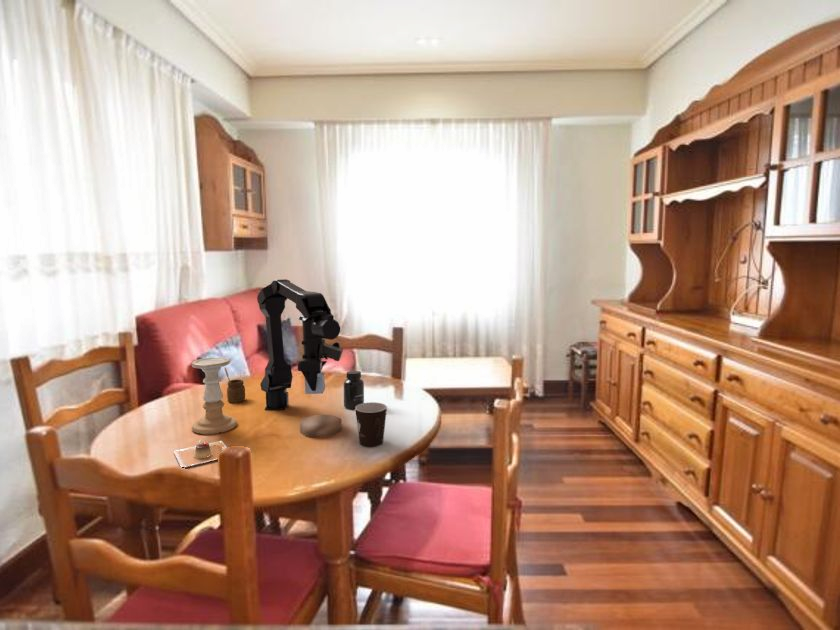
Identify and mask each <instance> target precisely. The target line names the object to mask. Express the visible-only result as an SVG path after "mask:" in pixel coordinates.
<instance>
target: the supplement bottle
mask: <svg viewBox="0 0 840 630" xmlns="http://www.w3.org/2000/svg"><path fill="white" fill-rule="evenodd" d="M345 377H346V379H345V380H344V381H343V406H344V408H345V409H348V410H355V407H356V406H357V405H359V404H363V403H365V382H364V380H363V379H362V371H360V370H348V371H346V376H345Z"/></svg>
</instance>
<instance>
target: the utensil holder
mask: <svg viewBox="0 0 840 630" xmlns="http://www.w3.org/2000/svg"><path fill="white" fill-rule="evenodd" d="M224 371H225V375H226V377H227V379H228V381H227V388H226V399H227V402H228V403H232V404H236V403H241V402H244V401H245V400H246V387H245V385H244V380H243V379H245V378H244V376H241V375H242V374H245V371H242V372H241V369H240V370H238V371H237V373H236V374H237V375H239V374H240V375H239V376H236V379H230V377H229V373H228V370H227V367H225V366H224ZM241 377H242V379H239V378H241Z"/></svg>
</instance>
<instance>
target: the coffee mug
mask: <svg viewBox="0 0 840 630" xmlns="http://www.w3.org/2000/svg"><path fill="white" fill-rule="evenodd" d="M387 409H388V406H387V405H386V404H385V403H381V402H373V401H372V402H364V403H363V404H359V405H357V406H356V407H355V409H354V410H355V412H354V413H355V418H356V427H357V432H358V440H359V445H360V446H362V447H363V448H378V447H379V446H382V445H383V444H384V436H385V428H386V427H385V426H386V420H387V419H386V418H387V411H388V410H387Z"/></svg>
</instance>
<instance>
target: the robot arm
mask: <svg viewBox="0 0 840 630" xmlns="http://www.w3.org/2000/svg"><path fill="white" fill-rule="evenodd" d="M287 300H289V301H291V302H292V303H294V304H295V308H296V310H297V311H299V312H300V313H301V315H300V316H299V317H298V320H299V321H302V322H301V323H302V324H301V325H302V326H301V327H302V340H301V345H302V346H303V354H302V358H301V360H300V361H299V362H298V363H297V371H298V372H301V373H302V375H303V377H304V380H305V379H306V381H307V382H308V384H309V386H310V388H311V390H312V391H315V390H316V385H317V377H318V373H322V369H323V367H324V366H325V365H326V364H327V362H328V361H327V360H329V359H331V360H333V361H335V362H340V360H341V358H342V354H343V352H344V348H343V347H341V343H340V342H337V341H335V342H333V343H332V344H331V343H326V340H330V341H332V340H336V338H338V336H339V335H340V332H341V326H340V323H339V322H338V321H337V320H336V319H334V317H335V316H334V315H333V314H332V310H331V308H330V306H329V305H328V302H327V300H326V298H325V296H324V294H322V293H321V292H318V291H317V292H316V291H308V290H305V289H303V288H301V287H300V286H298V285H296V284H295V283H293V282H291V281H290V280H288V279H287V278H286V279H275V280H272V282H271V283H270V284H268V285H267V286H265V287H263V288H261V290H260V292H259V293H258V294H257V298H256V301H257V303H258V307H259V311H260V312H261V313H262V314H263V315H264V317H265V328H266V337H267V338H266V339H267V349H268V362H267V365H266V366H265V368H264V376H263V378H262V379H261V382H260V384H259V385H260V389H261V391H262V392H265V408H264V410H265V411H266V410H276V411H277V410H285V409H286V408H287V407H288V405H289V404H290V403H289V392H288V391H287V389H292V382H293V377H294V376H293V373H292V364H290V363H288V361H286V359H285V358H286V357H285V350H284V349H285V348H284V338H283V327H282V326H283V325H282V315H283V312H284V310H285V309H286V301H287ZM323 359H324V360H323Z"/></svg>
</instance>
